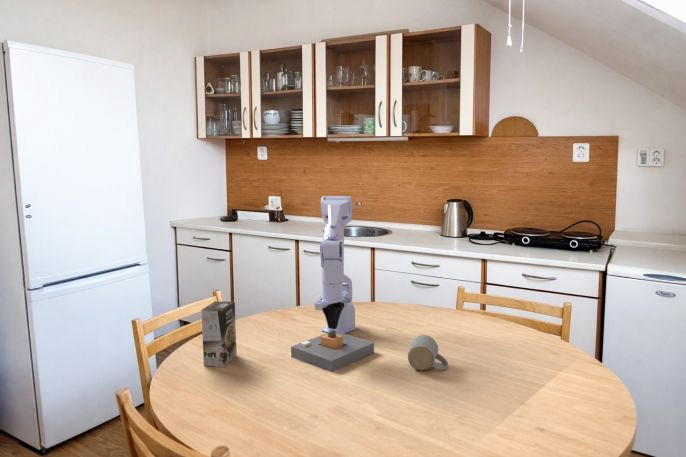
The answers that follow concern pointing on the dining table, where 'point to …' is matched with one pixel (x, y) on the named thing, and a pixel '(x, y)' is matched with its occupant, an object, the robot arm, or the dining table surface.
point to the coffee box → (219, 333)
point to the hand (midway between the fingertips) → (332, 328)
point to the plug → (332, 340)
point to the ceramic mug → (425, 354)
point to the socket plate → (332, 352)
